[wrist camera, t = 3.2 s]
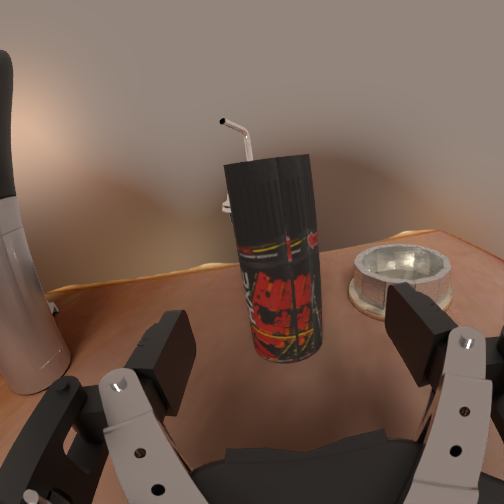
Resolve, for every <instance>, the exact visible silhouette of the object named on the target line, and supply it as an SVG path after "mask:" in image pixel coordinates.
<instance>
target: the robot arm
mask: <svg viewBox="0 0 504 504" xmlns="http://www.w3.org/2000/svg"><path fill="white" fill-rule="evenodd" d="M12 94H13V66H12V62H11V58H10V56H9V54H8V53H7V52H6V51H4V50H0V373H1V375H2V376H3V378H4V379H5V381H6V382H7V384H8V385H9V387H10V388H11V390H13V391H14V392H15V393H18V394H22V395H27V394H33V393H37V392H39V391H42V390H44V389H46V388H47V387H49V386H50V385H51V386H50V387H49V388H48V390H47V391H46V393H45V394H44V396H43V397H42V399H41V400H40V402H39V403H38V405H37V406H36V408H35V410H34V411H33V413H32V414H31V416H30V417H29V419H28V421H27V422H26V424H25V425H24V427H23V429H22V430H21V432H20V434H19V435H18V437H17V439H16V441H15V442H14V444H13V446H12V448H11V449H10V451H9V453H8V455H7V457H6V458H5V460H4V462H3V464H2V466H1V468H0V504H92V501H93V498H94V495H95V491H96V488H97V485H98V482H99V479H100V477H101V474H102V471H103V468H104V465H105V462H106V460H107V457H108V454H109V453H110V456H111V459H112V462H113V465H114V468H115V471H116V473H117V476H118V479H119V481H120V484H121V486H122V489H123V491H124V494H125V496H126V498H127V501H128V503H129V504H504V481H503V480H500V479H498V478H495V477H493V476H490V475H488V474H486V473H483V472H481V468H482V463H483V459H484V454H485V449H486V443H487V437H488V430H489V423H490V417H491V419H492V421H493V423H494V425H495V426H496V428H497V430H498V432H499V434H500V436H501V438H502V441H503V443H504V326H503V328H502V330H501V333H500V336H499V337H490V338H485V337H484V335H483V334H482V333H481V332H480V331H479V330H477V329H475V328H472V327H468V326H461V327H458V325H457V324H456V323H455V322H454V321H453V320H452V319H451V318H450V317H449V316H448V315H447V314H446V313H445V312H444V311H443V310H441V308H440V307H439V306H438V305H436V303H435V302H434V301H433V300H432V299H431V298H430V297H429V296H427V295H425V294H423V293H421V292H417V291H416V290H415V289H414V288H413V287H412V286H411V285H410V284H409V283H408V282H402V283H397V284H391V285H389V286H388V289H387V299H386V310H385V328H386V332H387V334H388V335H389V337H390V339H391V340H392V342H393V344H394V345H395V347H396V349H397V350H398V352H399V354H400V355H401V357H402V359H403V361H404V362H405V364H406V366H407V367H408V369H409V371H410V373H411V375H412V376H413V378H414V380H415V382H416V384H417V385H418V387H422V386H425V385H428V384H430V385H431V387H432V388H431V391H430V394H429V397H428V400H427V404H426V407H425V410H424V413H423V416H422V419H421V422H420V425H419V428H418V431H417V433H416V436H415V438H414V440H409V439H402V438H387V437H386V434H385V431H384V429H380V430H376V431H372V432H368V433H364V434H360V435H355V436H351V437H347V438H344V439H342V440H339V441H337V442H334V443H332V444H329V445H327V446H324V447H322V448H319V449H316V450H313V451H310V452H296V451H286V450H278V449H270V448H246V449H226V454H225V459H221V460H217V461H214V462H210V463H208V464H205V465H203V466H201V467H198V468H196V469H195V470H192V468H191V467H190V465H189V464H188V463H187V461H186V460H185V458H184V456H183V455H182V453H181V452H180V450H179V448H178V447H177V445H176V443H175V442H174V440H173V438H172V437H171V435H170V433H169V431H168V430H167V428H166V426H165V424H164V423H163V421H164V418H165V416H177V414H178V411H179V407H180V404H181V401H182V398H183V395H184V391H185V388H186V385H187V382H188V379H189V376H190V372H191V369H192V366H193V363H194V360H195V357H196V343H195V339H194V336H193V333H192V329H191V326H190V323H189V319H188V316H187V313H186V311H185V310H173V311H166V312H165V313H164V314H163V316H162V318H161V319H160V321H159V323H155V324H154V325H153V326H151V327H150V328H149V329H148V330H147V331H146V332H145V334H144V335H143V337H142V338H141V340H140V342H139V343H138V345H137V347H136V348H135V350H134V351H133V353H132V355H131V356H130V358H129V360H128V361H127V363H126V365H125V366H124V368H119V369H115V370H113V371H110V372H109V373H107V374H106V375H105V376H104V377H103V378H102V379H101V380H100V383H99V385H93V386H86V387H83V386H82V385H81V383H80V382H79V380H78V379H77V378H76V377H74V376H64V377H61V376H62V375H63V374H64V372H65V371H66V369H67V368H68V366H69V363H70V360H71V354H70V351H69V349H68V347H67V345H66V343H65V341H64V339H63V337H62V335H61V333H60V331H59V329H58V326H57V324H56V322H55V319H54V317H53V315H52V313H51V310H50V308H49V305H48V303H47V301H46V298H45V295H44V293H43V290H42V288H41V285H40V282H39V279H38V277H37V274H36V271H35V268H34V264H33V261H32V258H31V255H30V251H29V248H28V245H27V241H26V237H25V233H24V229H23V227H22V221H21V217H20V212H19V207H18V202H17V197H16V191H15V186H14V177H13V167H12V155H11V109H12ZM60 377H61V378H60ZM71 426H72V427H73V429H74V430H75V431H76V432H77V434H76V436H75V439H74V441H73V443H72V445H71V447H70V449H69V451H68V454H67V456H66V454H65V453H64V450H63V442H64V440H65V438H66V436H67V434H68V432H69V430H70V428H71Z"/></svg>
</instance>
